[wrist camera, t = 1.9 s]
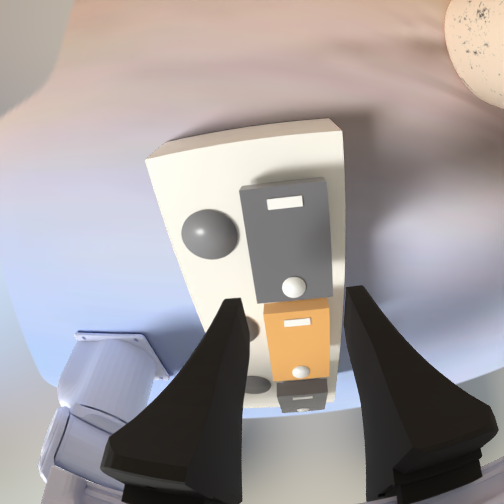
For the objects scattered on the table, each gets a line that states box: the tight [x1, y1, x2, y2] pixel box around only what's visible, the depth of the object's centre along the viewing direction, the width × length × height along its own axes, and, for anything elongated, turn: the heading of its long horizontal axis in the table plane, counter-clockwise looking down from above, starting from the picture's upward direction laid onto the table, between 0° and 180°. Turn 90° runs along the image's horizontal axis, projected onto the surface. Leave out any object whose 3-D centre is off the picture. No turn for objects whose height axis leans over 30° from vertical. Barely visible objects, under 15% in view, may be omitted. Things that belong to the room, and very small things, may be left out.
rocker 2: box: [263, 298, 330, 381], centre depth 20 cm, size 6×4×1 cm, turn 9°
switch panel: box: [145, 118, 345, 408], centre depth 24 cm, size 31×10×4 cm, turn 9°
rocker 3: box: [277, 379, 328, 413], centre depth 24 cm, size 6×4×1 cm, turn 9°
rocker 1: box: [239, 177, 333, 304], centre depth 15 cm, size 6×4×1 cm, turn 9°
